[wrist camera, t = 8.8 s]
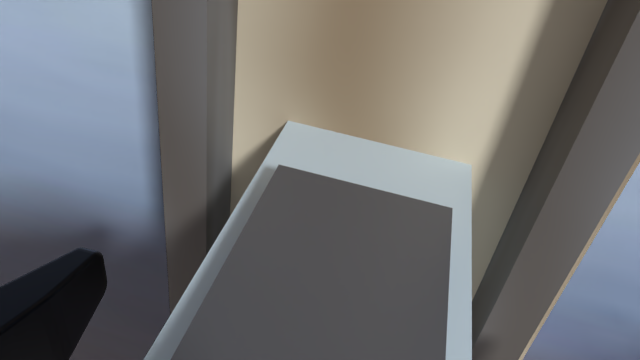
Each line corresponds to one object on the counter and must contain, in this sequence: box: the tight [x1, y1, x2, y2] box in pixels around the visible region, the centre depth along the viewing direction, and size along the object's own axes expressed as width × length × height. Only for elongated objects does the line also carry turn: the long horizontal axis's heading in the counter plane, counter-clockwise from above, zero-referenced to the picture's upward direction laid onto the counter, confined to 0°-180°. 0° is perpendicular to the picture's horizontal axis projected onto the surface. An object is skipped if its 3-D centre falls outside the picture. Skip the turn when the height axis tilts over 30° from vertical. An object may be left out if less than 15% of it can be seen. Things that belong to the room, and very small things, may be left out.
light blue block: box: [144, 121, 472, 360], centre depth 9 cm, size 5×4×8 cm
